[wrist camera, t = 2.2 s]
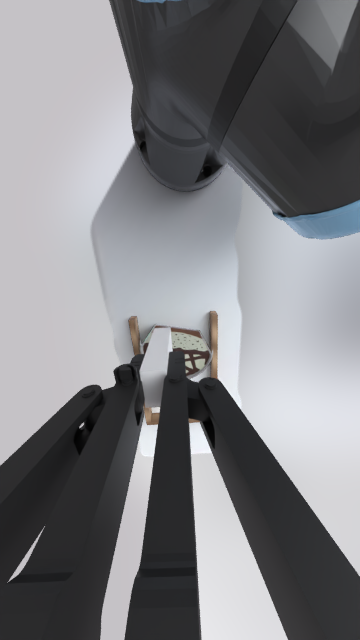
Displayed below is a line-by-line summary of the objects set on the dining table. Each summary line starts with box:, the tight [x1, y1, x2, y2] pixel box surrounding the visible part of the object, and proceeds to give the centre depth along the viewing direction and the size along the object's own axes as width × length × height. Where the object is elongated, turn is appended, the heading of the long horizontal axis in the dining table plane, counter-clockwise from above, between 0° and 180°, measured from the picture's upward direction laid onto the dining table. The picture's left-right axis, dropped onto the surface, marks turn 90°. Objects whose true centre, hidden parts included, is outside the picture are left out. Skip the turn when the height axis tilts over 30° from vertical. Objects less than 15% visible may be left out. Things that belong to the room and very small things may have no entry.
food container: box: [140, 324, 213, 379], centre depth 33 cm, size 12×6×10 cm, turn 82°
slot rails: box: [129, 311, 218, 425], centre depth 39 cm, size 27×17×4 cm, turn 4°
